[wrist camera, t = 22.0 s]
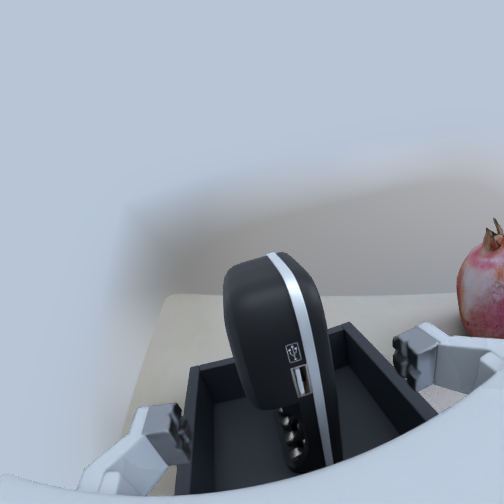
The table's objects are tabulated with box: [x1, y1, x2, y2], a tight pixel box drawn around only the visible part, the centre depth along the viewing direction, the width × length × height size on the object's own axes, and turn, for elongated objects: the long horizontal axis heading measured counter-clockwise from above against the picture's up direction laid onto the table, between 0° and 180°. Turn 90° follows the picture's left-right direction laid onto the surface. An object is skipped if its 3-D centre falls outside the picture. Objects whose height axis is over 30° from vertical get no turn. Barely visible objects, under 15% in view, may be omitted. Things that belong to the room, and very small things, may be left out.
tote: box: [174, 322, 438, 496], centre depth 15 cm, size 13×13×4 cm
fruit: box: [457, 218, 504, 339], centre depth 16 cm, size 9×10×10 cm
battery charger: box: [223, 252, 343, 472], centre depth 14 cm, size 7×4×11 cm, turn 6°
